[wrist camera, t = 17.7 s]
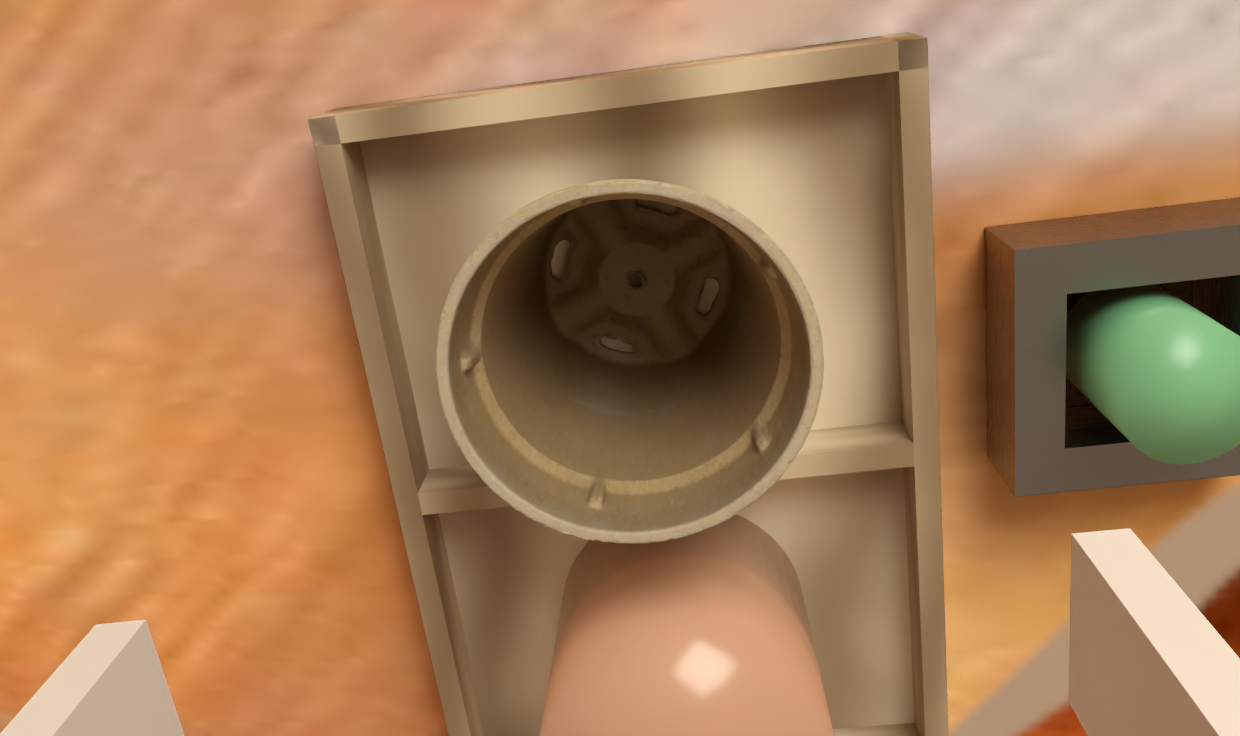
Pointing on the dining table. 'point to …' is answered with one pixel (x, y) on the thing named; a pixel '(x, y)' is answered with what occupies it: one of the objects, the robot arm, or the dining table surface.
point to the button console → (1036, 335)
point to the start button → (1157, 371)
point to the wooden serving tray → (658, 151)
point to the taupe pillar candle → (685, 641)
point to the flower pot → (629, 362)
